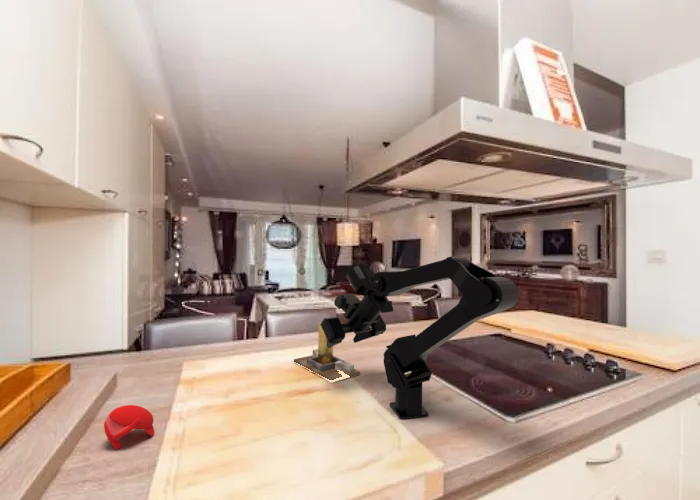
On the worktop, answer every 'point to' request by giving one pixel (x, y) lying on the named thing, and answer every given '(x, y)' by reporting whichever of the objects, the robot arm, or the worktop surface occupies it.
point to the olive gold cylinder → (324, 348)
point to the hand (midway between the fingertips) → (341, 343)
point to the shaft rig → (327, 366)
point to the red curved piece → (127, 422)
